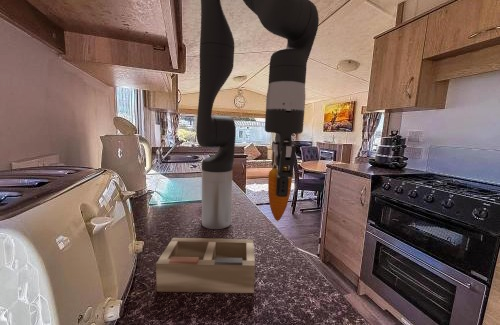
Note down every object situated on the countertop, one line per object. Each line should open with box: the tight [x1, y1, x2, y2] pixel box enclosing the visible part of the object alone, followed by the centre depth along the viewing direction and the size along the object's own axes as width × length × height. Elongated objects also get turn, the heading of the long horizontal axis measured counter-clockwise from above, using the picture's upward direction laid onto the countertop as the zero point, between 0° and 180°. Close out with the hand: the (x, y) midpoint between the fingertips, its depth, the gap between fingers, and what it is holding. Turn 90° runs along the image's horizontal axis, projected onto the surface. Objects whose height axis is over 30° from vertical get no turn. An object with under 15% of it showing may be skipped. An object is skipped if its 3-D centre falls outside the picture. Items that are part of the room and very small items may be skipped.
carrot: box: [267, 160, 293, 222], centre depth 47 cm, size 5×5×15 cm
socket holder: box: [155, 237, 256, 294], centre depth 45 cm, size 10×18×6 cm, turn 91°
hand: (279, 191), depth 47 cm, fingers closed on carrot, 5 cm apart
